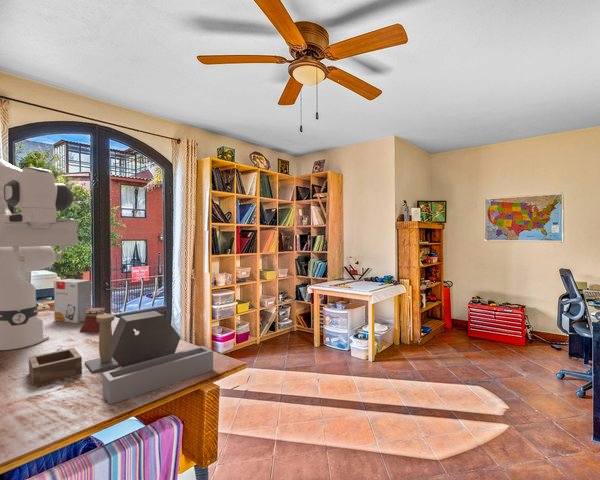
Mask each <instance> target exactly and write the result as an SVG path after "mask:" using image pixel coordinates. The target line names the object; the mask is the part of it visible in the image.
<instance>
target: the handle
mask: <svg viewBox="0 0 600 480" xmlns="http://www.w3.org/2000/svg"><path fill="white" fill-rule="evenodd" d="M115 319H116V318H115V314H112V313H104V314H101V315H97V316H96V321H97V322H98V323H99V324H100V332H98V333H99V335H98V336H99V338H98V351H99V352H98V353H99V358H101V359H100V362H101V363H107V362H110V361H111V360H112V356H111V355H110V354H109V353H108V351H107V350H106V349H107V347H108V344H109V342H110V340H111V337H112V335H113V330H112V322H113V321H115Z"/></svg>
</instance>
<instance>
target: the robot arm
mask: <svg viewBox="0 0 600 480" xmlns="http://www.w3.org/2000/svg"><path fill="white" fill-rule="evenodd" d="M55 180H56V179H55V176H54V173H53V172H52V171H51V170H50V169H46V168H39V167H32V166H25V167H23V168H22V169H21V168H19V167H17V166H15V165H14V164H13V165H12V164H11V163H9V162H7V161H5V160H4V159H1V158H0V351H9V350H10V351H11V350H17V349H22V348H26V347H30V346H33V345H36V344H38V343H41V342H43V341H45V340H46V341H47V340H48V339H50V335H47V334H45V333H44V322H43V318H41V317H39V316H38V314H39V308H38V305H37V293H36V292H37V291H36V287H35V286H34V284H33V283H31V282H28V281H26V280H22V279H21V278H20V275H19V273H21V272H32V271H40V270H43V269H47V268H50V267H52V265H54V263H55V261H56V260H57V261H58V260H62V259H63V258H62V255H63V253H64V252H65V251H66V247H67V246H77V244H78V243H79V238H78V237H79V236H78V232H77V231H78V229H79V224H78V221H76V220H75V219H74V218H62V217H60V218H59V217H57V212H64V211H66V209H68V208H70V207H71V205H72V204H73V200H74V195H73V192H72V190H71V189H70V188H69V187H68V185H66V184H65V183H59V182H56V181H55ZM8 205H9V206H11V207H12V208H16V209H20V212H13V213H12V212H11V210H10V209H9V206H8ZM53 247H59V248H58V249H59V252H58V253H56V252H55V250H54V248H53Z"/></svg>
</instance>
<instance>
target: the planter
mask: <svg viewBox="0 0 600 480" xmlns="http://www.w3.org/2000/svg"><path fill="white" fill-rule="evenodd" d="M135 331H136V332H139V333H138V334H136V332H135ZM180 340H181V335H180V334H179V332H177V331H176V329H175V328H174V327H173V326H172V324H171V323H170V322H169V320H167V318H166V317H165V315H164V314H161V313H160V312H158V311H156V310H152V311H146V312H145V311H144V312H140V313H134V314H133V313H132V314H128V315H122V316H120V317H119V319H118V322H117V324H116V326H115V328H114V331H113V332H112V337H111V340H110V342H109V344H108V347H107V349H106V350H107V351H108V353H109V354H110V355H111V356H112V358H113V359H114V360H115V361H116V362H117V363H118V364H119V365H120V366H119V367H120V368H122V367H126V366H129V365H133V364H137V363H141V362H144V361H148V360H152V359H155V358H159V357H163V356H167V355H170V354H174V353H176V351H177V348H178V347H179V346H178V345H179V343H180Z"/></svg>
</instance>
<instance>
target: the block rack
mask: <svg viewBox="0 0 600 480" xmlns="http://www.w3.org/2000/svg"><path fill="white" fill-rule="evenodd" d="M212 371H214V350H212V349H211V348H208V347H206V346H204V345H200V346H196V347H194V348H189V349H186V350H182V351H177V352H175V353H174V354H170V355H167V356H163V357H159V358H155V359H152V360H148V361H144V362H141V363H137V364H133V365H129V366H126V367H117V368H115V369H112V370H111V369H110V370H107V371H104V372H102V373H101V374H102V377H101V378H102V396H103V398H104V399H105V401H106V402H107V403H108V404H109V405H113V404H116V403H119V402H123V401H125V400H127V399H132V398H135V397H137V396H140V395H143V394H146V393H149V392H152V391H155V390H158V389H161V388H163V387H164V388H165V387H167V386H170V385H172V384H176V383H179V382H182V381H185V380H187V379H191V378H194V377H197V376H200V375H203V374H205V373H208V372H212Z"/></svg>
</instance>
